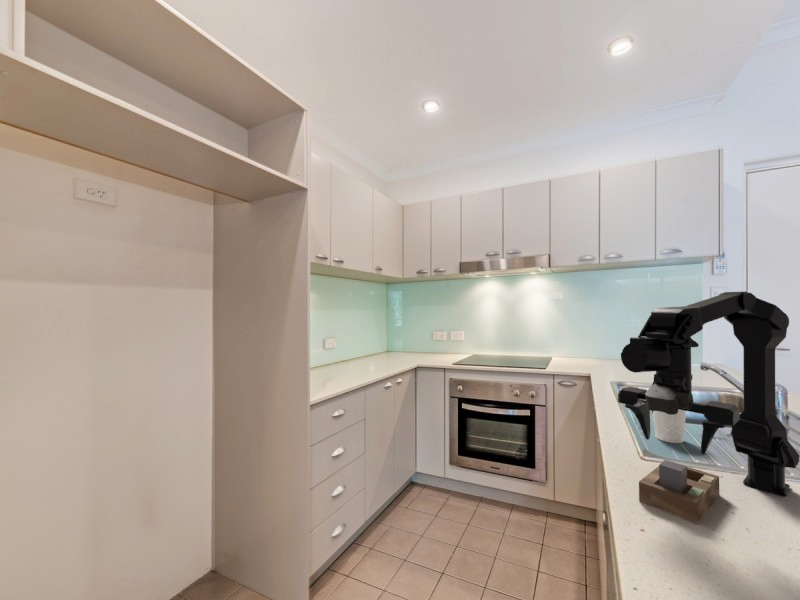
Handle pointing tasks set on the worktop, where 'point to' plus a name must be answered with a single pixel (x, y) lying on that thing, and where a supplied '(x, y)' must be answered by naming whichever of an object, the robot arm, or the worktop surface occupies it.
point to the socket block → (685, 506)
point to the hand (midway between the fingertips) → (674, 446)
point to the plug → (673, 476)
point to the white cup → (669, 426)
